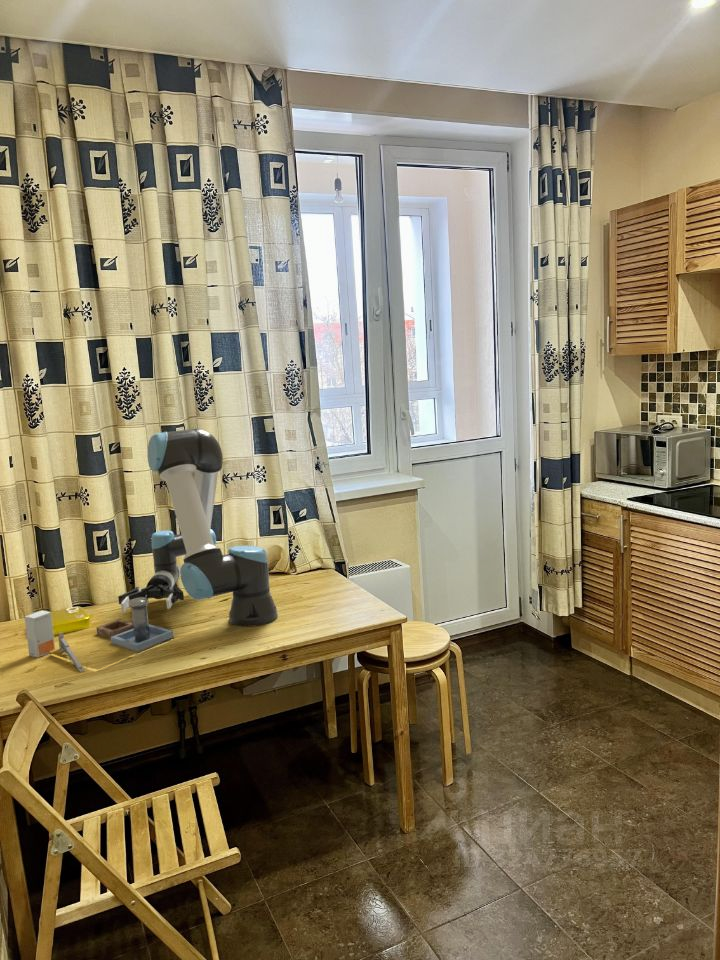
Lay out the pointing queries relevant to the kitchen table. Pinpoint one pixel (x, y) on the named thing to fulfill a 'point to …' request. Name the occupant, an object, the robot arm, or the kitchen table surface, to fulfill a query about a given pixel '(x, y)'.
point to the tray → (129, 642)
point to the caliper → (69, 651)
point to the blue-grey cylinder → (140, 618)
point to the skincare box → (39, 633)
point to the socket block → (114, 628)
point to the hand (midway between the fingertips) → (145, 606)
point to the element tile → (69, 620)
